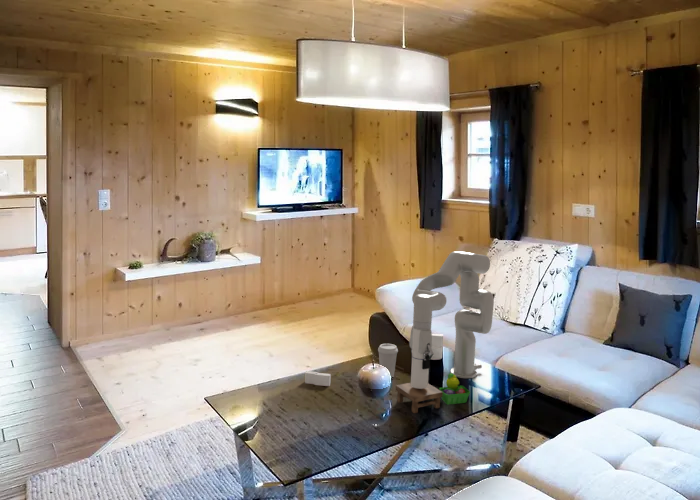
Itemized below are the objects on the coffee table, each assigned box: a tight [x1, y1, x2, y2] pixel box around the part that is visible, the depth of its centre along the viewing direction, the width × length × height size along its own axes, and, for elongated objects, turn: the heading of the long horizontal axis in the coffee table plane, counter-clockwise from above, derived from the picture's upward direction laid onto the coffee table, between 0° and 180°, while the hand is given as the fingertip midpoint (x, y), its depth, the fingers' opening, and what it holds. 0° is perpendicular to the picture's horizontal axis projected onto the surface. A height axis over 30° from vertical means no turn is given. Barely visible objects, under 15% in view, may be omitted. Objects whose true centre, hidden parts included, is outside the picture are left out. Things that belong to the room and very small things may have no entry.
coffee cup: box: [377, 343, 399, 377], centre depth 269 cm, size 10×10×15 cm
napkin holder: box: [304, 370, 332, 387], centre depth 260 cm, size 15×11×6 cm
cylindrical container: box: [410, 328, 430, 389], centre depth 237 cm, size 7×7×25 cm
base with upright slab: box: [430, 333, 444, 361], centre depth 298 cm, size 9×9×12 cm
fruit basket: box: [439, 373, 471, 405], centre depth 244 cm, size 11×9×11 cm
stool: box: [395, 382, 443, 414], centre depth 240 cm, size 14×14×7 cm
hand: (420, 365), depth 237 cm, fingers closed on cylindrical container, 7 cm apart
